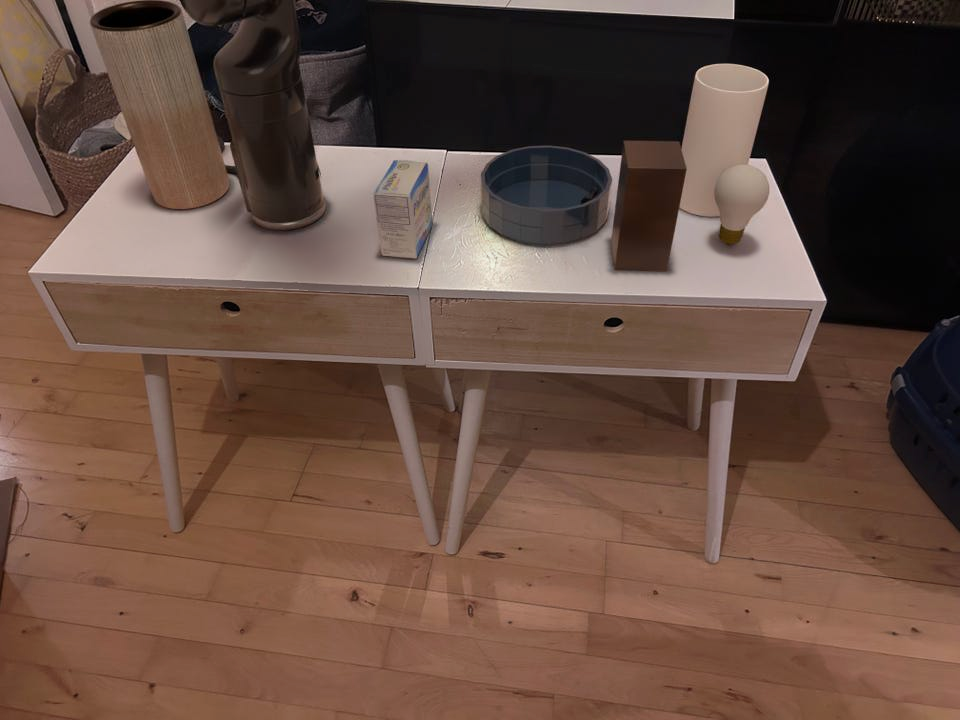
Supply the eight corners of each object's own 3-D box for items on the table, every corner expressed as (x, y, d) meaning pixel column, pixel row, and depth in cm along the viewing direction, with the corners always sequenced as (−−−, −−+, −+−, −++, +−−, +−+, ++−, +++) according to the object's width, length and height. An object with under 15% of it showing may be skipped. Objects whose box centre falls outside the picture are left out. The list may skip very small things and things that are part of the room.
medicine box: (416, 260, 87) (410, 195, 81) (380, 256, 88) (372, 192, 82) (433, 224, 93) (428, 161, 87) (399, 221, 93) (392, 158, 87)
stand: (614, 270, 85) (628, 167, 76) (610, 240, 89) (623, 140, 80) (667, 271, 85) (687, 168, 76) (661, 241, 89) (679, 141, 80)
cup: (743, 191, 97) (774, 69, 86) (730, 222, 92) (762, 97, 81) (681, 178, 100) (704, 59, 89) (665, 208, 94) (687, 85, 83)
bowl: (457, 222, 93) (455, 186, 89) (523, 168, 102) (524, 134, 99) (569, 262, 86) (572, 225, 83) (628, 201, 96) (633, 166, 92)
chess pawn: (591, 196, 91) (599, 180, 93) (577, 199, 93) (585, 183, 94) (598, 208, 93) (605, 192, 94) (584, 210, 94) (591, 195, 95)
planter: (140, 208, 96) (71, 28, 81) (172, 170, 104) (114, -2, 88) (213, 212, 95) (158, 30, 80) (241, 173, 103) (195, 0, 87)
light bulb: (720, 224, 92) (738, 149, 85) (763, 243, 88) (785, 167, 82) (693, 243, 89) (709, 168, 82) (736, 263, 85) (757, 187, 79)
